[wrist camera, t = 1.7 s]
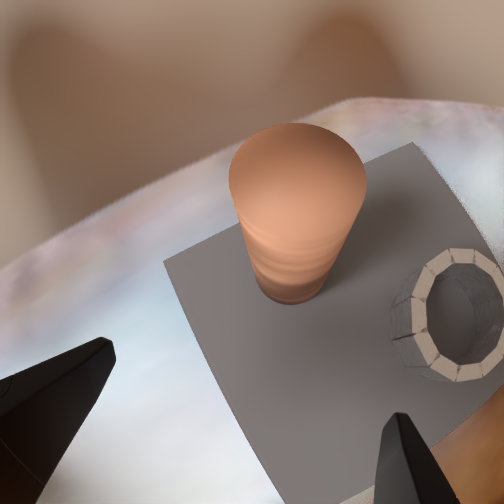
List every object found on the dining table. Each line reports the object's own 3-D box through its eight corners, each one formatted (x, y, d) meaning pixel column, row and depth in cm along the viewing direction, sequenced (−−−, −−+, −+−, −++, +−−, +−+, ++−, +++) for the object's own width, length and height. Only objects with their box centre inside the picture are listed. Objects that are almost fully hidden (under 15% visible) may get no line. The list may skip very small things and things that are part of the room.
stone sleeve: (498, 337, 19) (528, 329, 15) (422, 402, 18) (448, 407, 14) (450, 248, 22) (475, 228, 18) (369, 302, 21) (386, 289, 17)
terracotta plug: (338, 283, 22) (393, 200, 10) (275, 318, 21) (269, 265, 10) (303, 225, 23) (318, 108, 12) (242, 256, 23) (207, 154, 12)
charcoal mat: (529, 347, 19) (536, 346, 18) (296, 516, 17) (297, 521, 16) (409, 148, 26) (412, 141, 25) (167, 265, 24) (162, 261, 23)
